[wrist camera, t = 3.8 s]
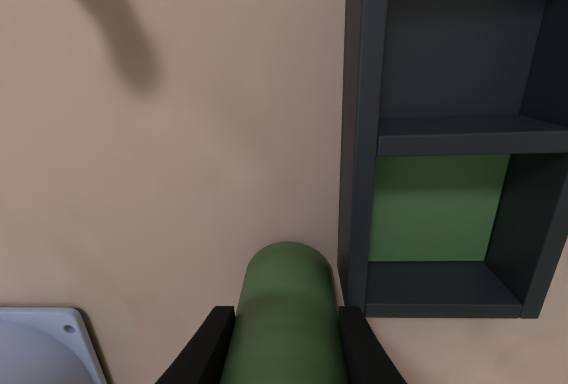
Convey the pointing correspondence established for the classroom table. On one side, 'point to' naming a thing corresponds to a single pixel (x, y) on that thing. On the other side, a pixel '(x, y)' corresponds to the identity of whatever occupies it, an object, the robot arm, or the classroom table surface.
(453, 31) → the tray
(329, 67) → the classroom table surface
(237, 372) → the sage peg
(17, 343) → the robot arm
